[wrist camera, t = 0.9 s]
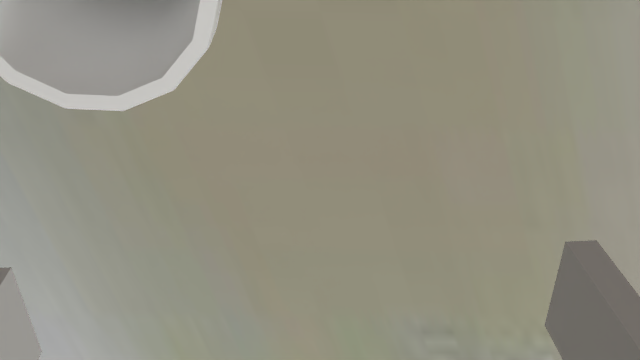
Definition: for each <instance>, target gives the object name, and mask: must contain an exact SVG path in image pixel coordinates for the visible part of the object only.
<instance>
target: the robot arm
mask: <svg viewBox="0 0 640 360" xmlns="http://www.w3.org/2000/svg"><path fill="white" fill-rule="evenodd" d="M545 327H546V329H547V331H548V332H549V334H550V336H551V338H552V340H553V342H554V344H555V346H556V348H557V350H558V351H559V353H560V355H561V357H562V359H563V360H640V297H639V295H638V294H637V293H636V291H635V290H634V289H633V287H632V286H631V285H630V284H629V282H628V281H627V280H626V278H625V277H624V276H623V274H622V273H621V272H620V270H619V269H618V268H617V267H616V265H615V264H614V263H613V261H612V260H611V259H610V257H609V256H608V255H607V253H606V252H605V251H604V250H603V248H602V247H601V246H600V244H599V243H598V242H597V240H594V241H572V242H565V245H564V250H563V254H562V258H561V262H560V266H559V270H558V274H557V278H556V282H555V286H554V290H553V294H552V298H551V302H550V306H549V310H548V314H547V318H546V322H545ZM41 352H42V350H41V347H40V344H39V342H38V339H37V336H36V334H35V331H34V328H33V325H32V323H31V320H30V317H29V314H28V312H27V309H26V306H25V303H24V301H23V298H22V295H21V293H20V290H19V287H18V284H17V282H16V279H15V276H14V273H13V271H12V268H11V267H10V268H0V360H38V359H39V357H40V355H41Z"/></svg>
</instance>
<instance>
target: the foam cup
mask: <svg viewBox="0 0 640 360" xmlns="http://www.w3.org/2000/svg"><path fill="white" fill-rule="evenodd" d="M221 4H222V0H0V76H1V77H2V78H3V79H4V80H5V81H6V82H7V83H9V84H11V85H14V86H16V87H18V88H20V89H23V90H25V91H27V92H29V93H32V94H34V95H36V96H38V97H41V98H43V99H45V100H48V101H50V102H52V103H54V104H57V105H59V106H61V107H63V108H66V109H88V110H112V111H125V110H127V109H130V108H132V107H135V106H137V105H139V104H142V103H144V102H147V101H149V100H151V99H154V98H156V97H159V96H161V95H164V94H166V93H168V92H171V91H173V90H174V89H175V88H176V87H177V86H178V85H179V83H180V82H181V81H182V80H183V78H184V77H185V76H186V75H187V74H188V72H189V71H190V70H191V69H192V68H193V66H194V65H195V64H196V63H197V61H198V60H199V59H200V58H201V57H202V55H203V54H204V53H205V52H206V51H207V49H208V48H209V46H210V43H211V41H212V38H213V36H214V34H215V31H216V28H217V24H218V19H219V14H220V9H221Z"/></svg>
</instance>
